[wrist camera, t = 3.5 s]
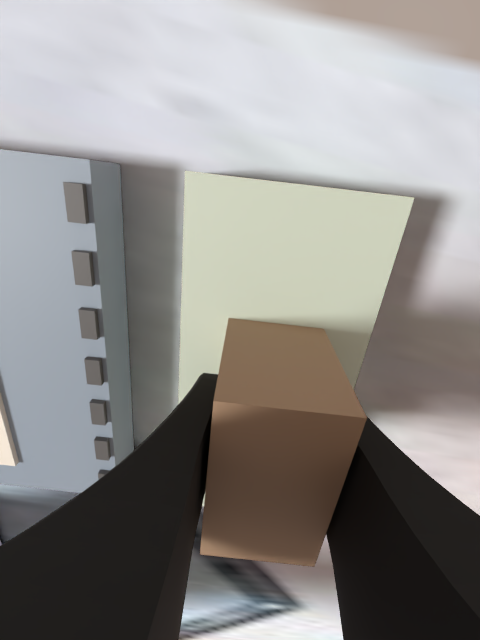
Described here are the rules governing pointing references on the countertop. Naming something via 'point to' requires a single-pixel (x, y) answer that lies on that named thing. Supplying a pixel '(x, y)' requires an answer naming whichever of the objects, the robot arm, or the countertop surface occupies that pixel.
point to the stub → (280, 349)
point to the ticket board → (62, 322)
